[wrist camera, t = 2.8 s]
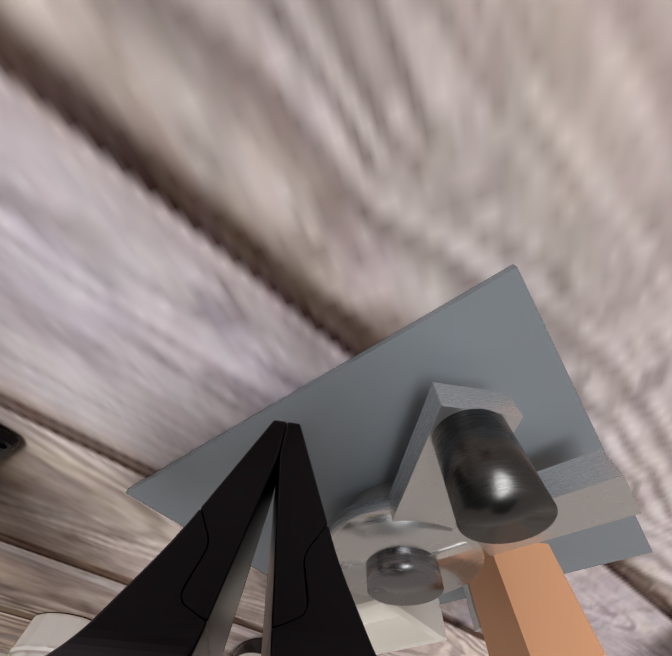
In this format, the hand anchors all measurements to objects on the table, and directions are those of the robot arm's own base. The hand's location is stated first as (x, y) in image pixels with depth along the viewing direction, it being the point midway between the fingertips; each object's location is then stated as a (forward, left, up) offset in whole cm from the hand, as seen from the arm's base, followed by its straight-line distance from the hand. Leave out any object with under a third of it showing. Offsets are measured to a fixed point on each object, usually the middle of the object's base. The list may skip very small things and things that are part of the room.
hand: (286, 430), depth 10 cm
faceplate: (-3, -13, -4) cm, 14 cm away
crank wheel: (+1, -9, -2) cm, 9 cm away
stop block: (+1, -20, -4) cm, 20 cm away
